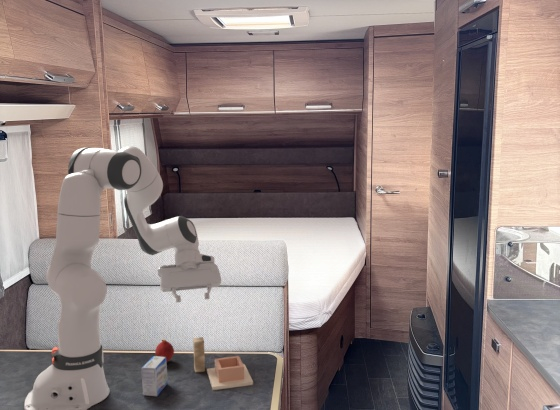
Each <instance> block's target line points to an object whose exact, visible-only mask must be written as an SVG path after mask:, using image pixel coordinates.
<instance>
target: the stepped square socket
mask: <svg viewBox="0 0 560 410" xmlns="http://www.w3.org/2000/svg"><path fill="white" fill-rule="evenodd" d="M206 373H207V376H208V380H209V383H210V385H211V390H212V391H218V390H224V389H233V388H239V387H247V386H253V385H254V381H253V379H252V377H251V374H250V372H249V370H248V368H247V365H246V364H245V363H243V361H242V360H241V357H240V355H236V356H226V357H220V358H214V367H211V368H206Z"/></svg>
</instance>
